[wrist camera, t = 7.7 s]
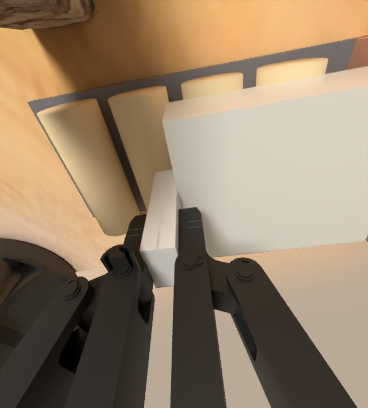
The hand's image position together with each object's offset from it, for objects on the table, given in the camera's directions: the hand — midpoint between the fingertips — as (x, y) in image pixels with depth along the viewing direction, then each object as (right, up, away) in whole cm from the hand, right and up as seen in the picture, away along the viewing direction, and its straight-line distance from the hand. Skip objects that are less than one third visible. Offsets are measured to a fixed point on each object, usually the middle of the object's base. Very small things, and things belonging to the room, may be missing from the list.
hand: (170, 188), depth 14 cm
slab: (+7, +2, +1) cm, 7 cm away
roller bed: (+3, +4, +5) cm, 7 cm away
